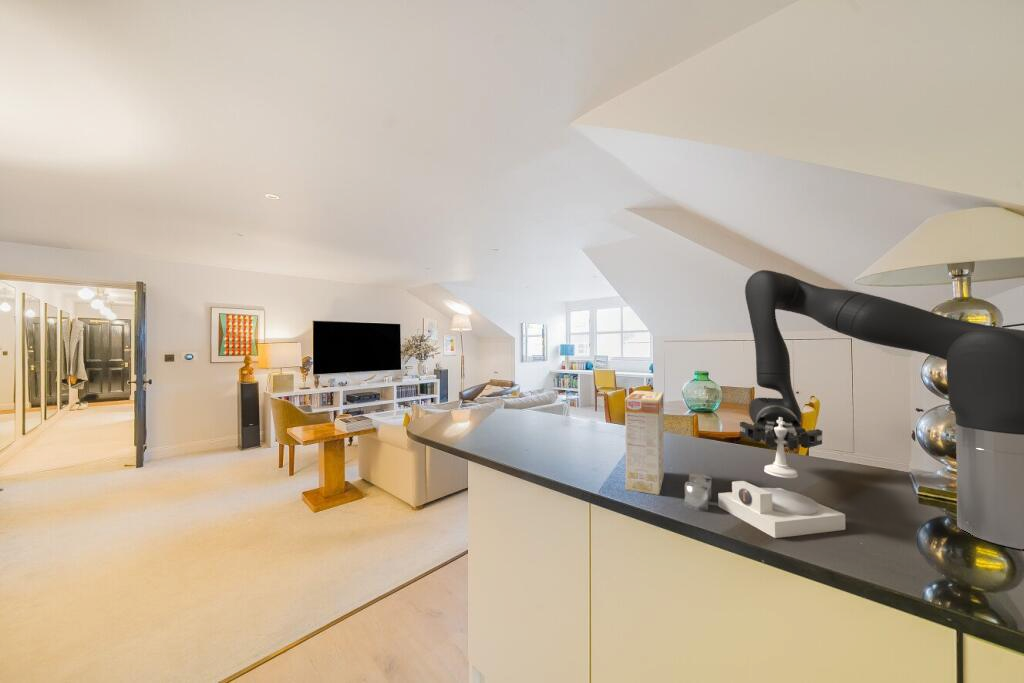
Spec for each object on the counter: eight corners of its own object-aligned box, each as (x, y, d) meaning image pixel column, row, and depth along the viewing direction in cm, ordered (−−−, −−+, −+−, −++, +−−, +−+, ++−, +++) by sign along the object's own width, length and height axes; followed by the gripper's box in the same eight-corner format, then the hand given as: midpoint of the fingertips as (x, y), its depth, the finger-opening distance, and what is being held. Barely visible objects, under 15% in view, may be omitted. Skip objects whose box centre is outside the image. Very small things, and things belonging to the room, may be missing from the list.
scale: (779, 500, 74) (779, 471, 74) (845, 529, 62) (845, 495, 62) (718, 506, 71) (718, 476, 71) (774, 538, 59) (774, 501, 59)
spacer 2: (698, 501, 74) (698, 480, 74) (713, 510, 70) (713, 488, 70) (680, 503, 73) (680, 482, 73) (694, 511, 69) (694, 490, 69)
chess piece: (786, 469, 70) (786, 415, 70) (804, 478, 65) (804, 420, 65) (758, 468, 70) (758, 414, 70) (774, 477, 65) (774, 420, 65)
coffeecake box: (634, 469, 93) (634, 390, 93) (665, 473, 90) (665, 391, 90) (623, 489, 79) (623, 397, 80) (659, 495, 76) (659, 399, 77)
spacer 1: (701, 492, 78) (701, 472, 78) (715, 499, 74) (715, 479, 75) (684, 493, 78) (684, 474, 78) (698, 501, 74) (698, 480, 74)
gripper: (738, 403, 83) (735, 417, 69) (819, 410, 76) (834, 426, 61) (738, 437, 83) (735, 458, 69) (819, 447, 76) (834, 473, 61)
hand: (781, 443), depth 65 cm, fingers closed on chess piece
